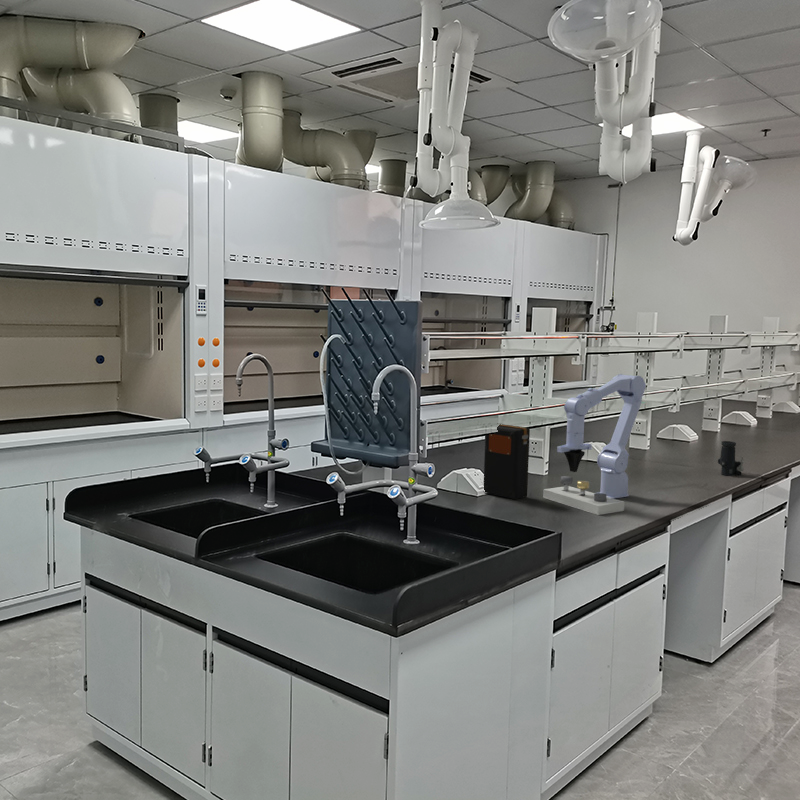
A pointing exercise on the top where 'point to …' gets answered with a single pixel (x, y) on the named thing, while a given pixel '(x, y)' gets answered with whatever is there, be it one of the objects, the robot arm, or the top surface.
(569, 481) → the knob
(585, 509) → the mount plate
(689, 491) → the top surface
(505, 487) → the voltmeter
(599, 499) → the knob
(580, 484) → the pot knob
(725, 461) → the scope
